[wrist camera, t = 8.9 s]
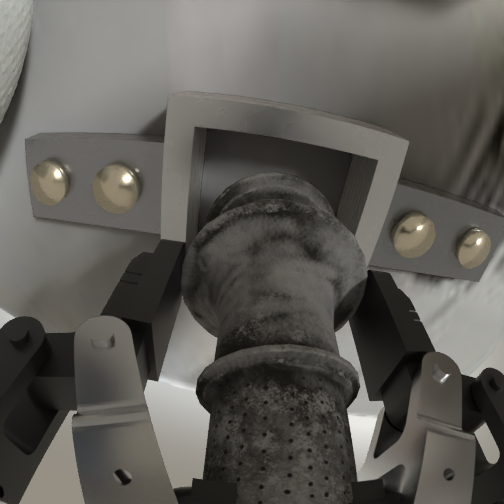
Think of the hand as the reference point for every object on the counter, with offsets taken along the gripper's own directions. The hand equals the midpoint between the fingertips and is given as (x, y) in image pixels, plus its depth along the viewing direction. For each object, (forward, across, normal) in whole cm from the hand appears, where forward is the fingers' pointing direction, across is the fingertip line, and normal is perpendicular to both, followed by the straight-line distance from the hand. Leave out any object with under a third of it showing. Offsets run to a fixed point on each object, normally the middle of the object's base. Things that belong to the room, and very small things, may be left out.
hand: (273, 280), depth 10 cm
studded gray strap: (+8, 0, 0) cm, 8 cm away
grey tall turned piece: (+3, 0, 0) cm, 3 cm away
